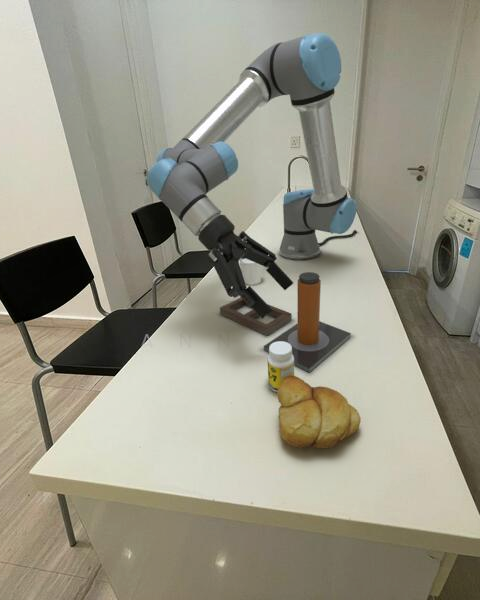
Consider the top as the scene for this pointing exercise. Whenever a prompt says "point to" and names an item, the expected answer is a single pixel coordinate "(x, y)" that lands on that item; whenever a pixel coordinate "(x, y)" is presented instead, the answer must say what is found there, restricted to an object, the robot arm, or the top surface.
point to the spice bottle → (308, 308)
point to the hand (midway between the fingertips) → (279, 299)
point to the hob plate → (316, 353)
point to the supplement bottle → (279, 363)
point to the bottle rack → (255, 317)
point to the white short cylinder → (250, 271)
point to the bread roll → (314, 414)
